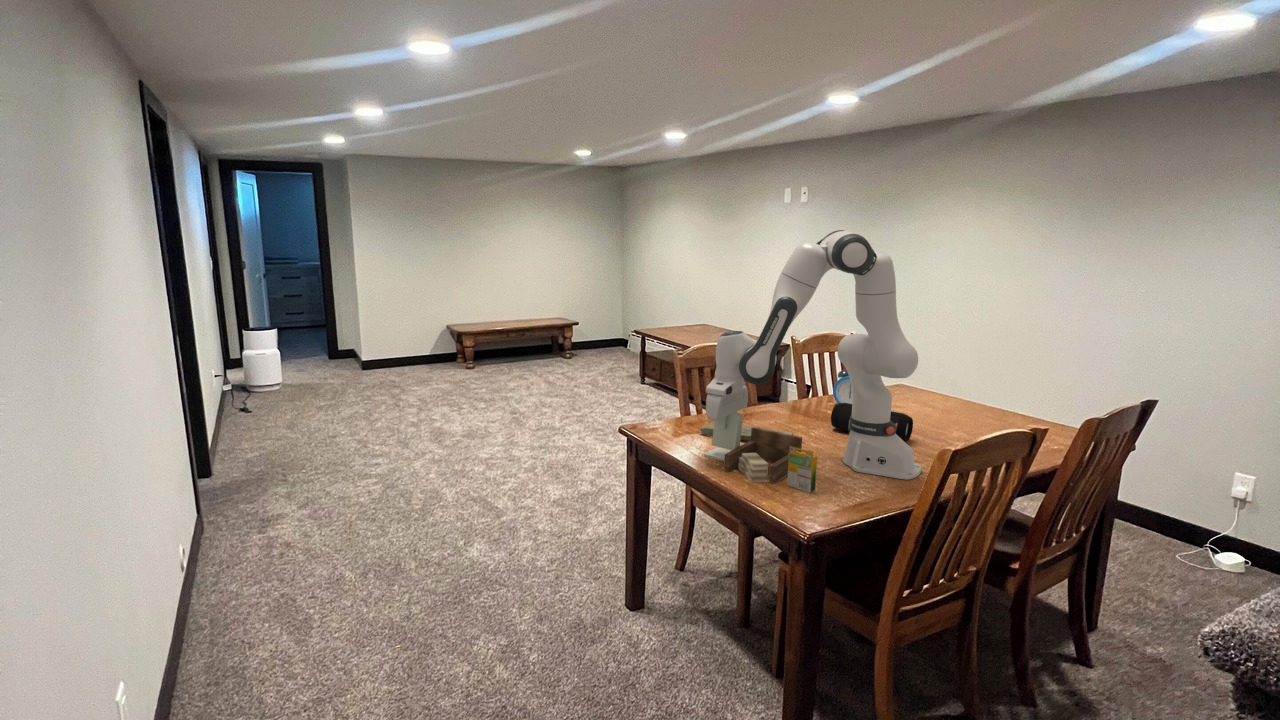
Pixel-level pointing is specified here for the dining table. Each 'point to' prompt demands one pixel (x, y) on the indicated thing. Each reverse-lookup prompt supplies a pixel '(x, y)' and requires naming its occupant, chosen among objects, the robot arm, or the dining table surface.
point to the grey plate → (717, 453)
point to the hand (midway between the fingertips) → (726, 427)
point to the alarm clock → (843, 388)
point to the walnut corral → (766, 451)
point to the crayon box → (802, 469)
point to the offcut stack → (753, 467)
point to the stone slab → (745, 431)
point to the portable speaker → (903, 421)
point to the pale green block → (728, 432)
